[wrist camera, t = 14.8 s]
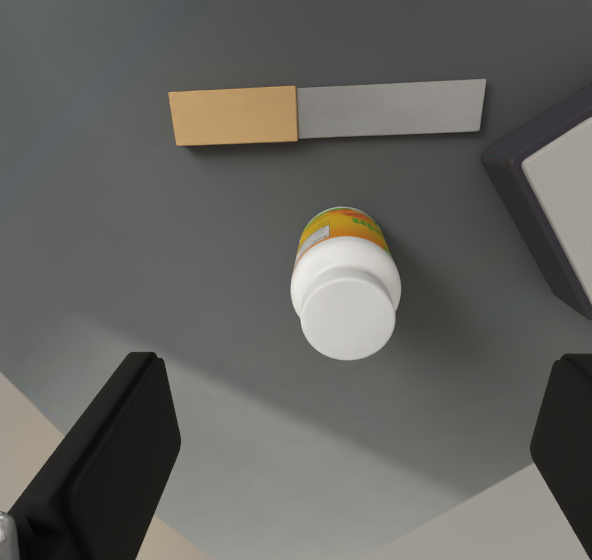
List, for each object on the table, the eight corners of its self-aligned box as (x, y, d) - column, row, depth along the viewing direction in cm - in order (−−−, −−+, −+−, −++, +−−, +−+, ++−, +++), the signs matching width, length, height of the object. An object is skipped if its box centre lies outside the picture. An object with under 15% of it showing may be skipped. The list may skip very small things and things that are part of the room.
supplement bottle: (401, 247, 25) (441, 325, 16) (338, 299, 27) (344, 394, 18) (344, 186, 24) (353, 234, 15) (282, 244, 26) (257, 318, 17)
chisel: (182, 144, 24) (176, 146, 23) (174, 92, 22) (167, 92, 22) (476, 132, 22) (482, 133, 21) (483, 76, 21) (491, 75, 20)
